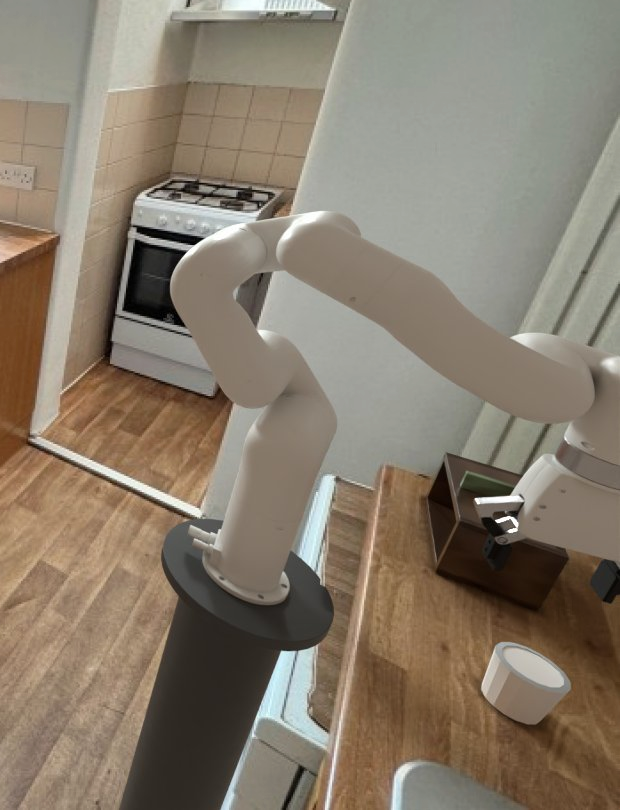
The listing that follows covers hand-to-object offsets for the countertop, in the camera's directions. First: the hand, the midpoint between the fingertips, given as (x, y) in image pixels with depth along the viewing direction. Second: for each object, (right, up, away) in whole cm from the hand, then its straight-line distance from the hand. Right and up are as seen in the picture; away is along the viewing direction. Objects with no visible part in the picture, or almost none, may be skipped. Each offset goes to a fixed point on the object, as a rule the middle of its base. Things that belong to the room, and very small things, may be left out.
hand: (543, 578), depth 74 cm
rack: (+22, -10, +30) cm, 39 cm away
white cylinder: (+2, -20, +6) cm, 20 cm away
